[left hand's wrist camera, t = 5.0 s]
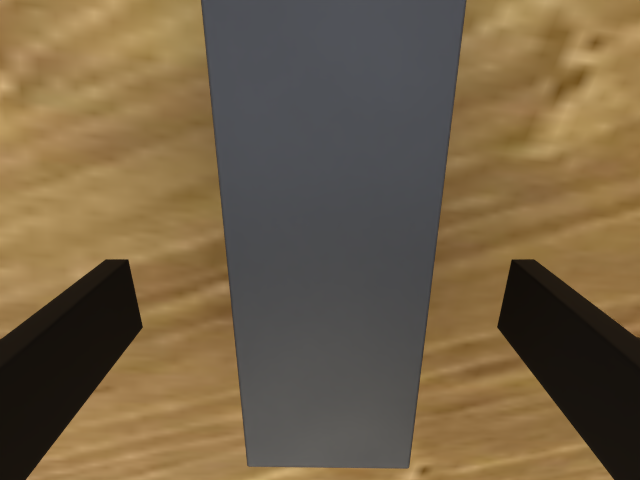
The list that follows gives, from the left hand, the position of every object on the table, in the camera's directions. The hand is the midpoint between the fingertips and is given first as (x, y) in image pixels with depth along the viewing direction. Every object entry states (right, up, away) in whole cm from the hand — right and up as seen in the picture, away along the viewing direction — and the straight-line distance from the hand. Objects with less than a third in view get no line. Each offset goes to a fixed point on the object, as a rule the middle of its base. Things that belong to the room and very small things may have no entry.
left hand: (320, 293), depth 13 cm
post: (0, +23, -4) cm, 23 cm away
